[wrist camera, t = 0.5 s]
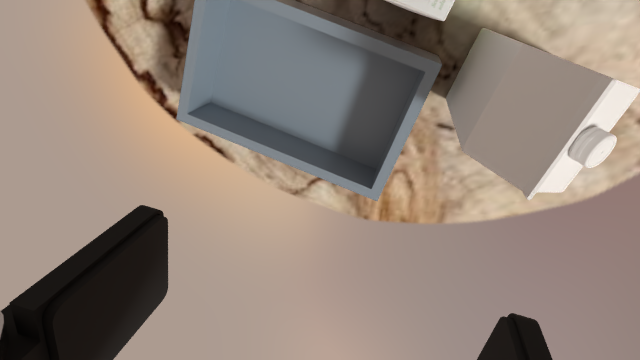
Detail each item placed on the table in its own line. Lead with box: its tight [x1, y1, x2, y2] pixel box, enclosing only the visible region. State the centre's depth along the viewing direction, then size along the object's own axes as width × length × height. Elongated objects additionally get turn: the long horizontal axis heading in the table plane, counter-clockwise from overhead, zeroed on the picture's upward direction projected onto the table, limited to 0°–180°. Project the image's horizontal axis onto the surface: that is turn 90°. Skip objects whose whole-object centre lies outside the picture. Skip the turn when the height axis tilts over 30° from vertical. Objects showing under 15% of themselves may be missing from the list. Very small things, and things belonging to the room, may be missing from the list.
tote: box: [177, 0, 442, 201], centre depth 38 cm, size 14×22×6 cm, turn 71°
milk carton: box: [446, 28, 640, 200], centre depth 28 cm, size 7×7×19 cm
